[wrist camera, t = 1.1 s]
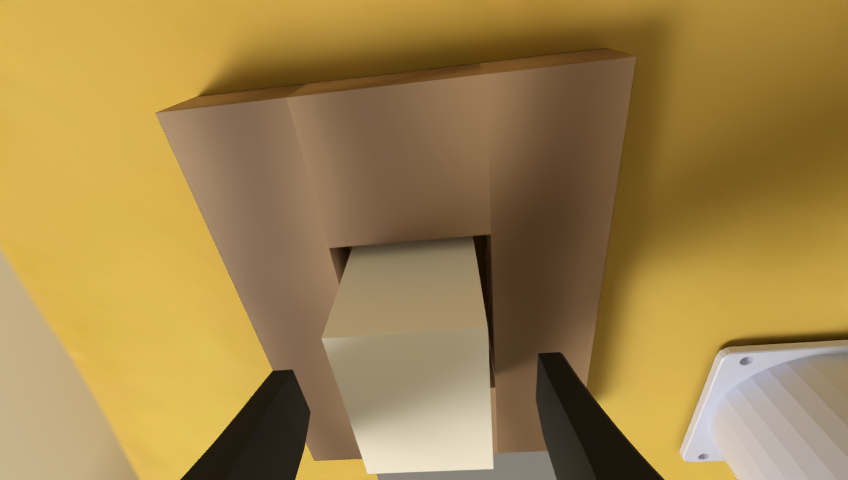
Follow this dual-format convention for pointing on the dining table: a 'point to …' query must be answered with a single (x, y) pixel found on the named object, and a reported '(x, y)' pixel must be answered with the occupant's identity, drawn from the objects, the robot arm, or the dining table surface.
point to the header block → (417, 207)
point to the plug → (414, 356)
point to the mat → (511, 475)
